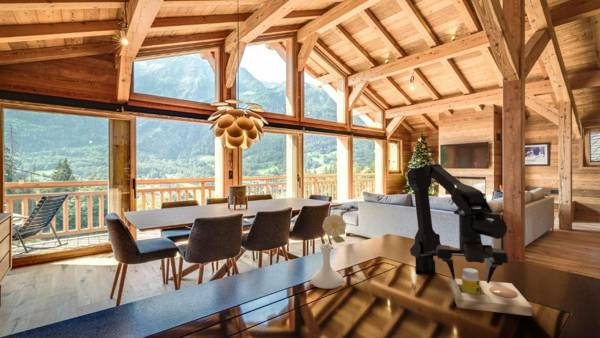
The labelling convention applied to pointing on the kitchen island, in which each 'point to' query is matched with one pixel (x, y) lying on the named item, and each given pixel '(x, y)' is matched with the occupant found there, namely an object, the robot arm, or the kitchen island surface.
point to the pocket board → (490, 299)
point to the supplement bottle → (470, 281)
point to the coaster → (503, 292)
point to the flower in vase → (326, 274)
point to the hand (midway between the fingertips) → (470, 281)
